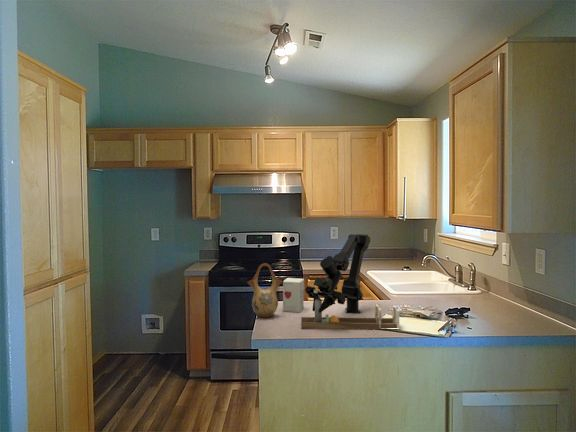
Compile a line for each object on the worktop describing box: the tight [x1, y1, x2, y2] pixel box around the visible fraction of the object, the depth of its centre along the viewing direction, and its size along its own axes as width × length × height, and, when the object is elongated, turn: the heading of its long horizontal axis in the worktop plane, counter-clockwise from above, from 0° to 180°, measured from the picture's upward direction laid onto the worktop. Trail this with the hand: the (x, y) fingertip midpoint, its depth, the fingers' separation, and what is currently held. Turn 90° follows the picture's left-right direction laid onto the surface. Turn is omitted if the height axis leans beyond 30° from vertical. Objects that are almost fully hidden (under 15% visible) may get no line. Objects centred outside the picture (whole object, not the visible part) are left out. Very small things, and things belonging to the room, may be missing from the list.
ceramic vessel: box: [246, 262, 283, 318], centre depth 180 cm, size 16×9×25 cm, turn 95°
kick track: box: [300, 303, 401, 331], centre depth 166 cm, size 8×41×8 cm, turn 88°
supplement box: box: [282, 277, 305, 313], centre depth 191 cm, size 9×9×15 cm
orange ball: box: [329, 315, 339, 323], centre depth 166 cm, size 4×4×4 cm
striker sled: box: [314, 299, 330, 323], centre depth 166 cm, size 6×6×11 cm
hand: (316, 311), depth 164 cm, fingers closed on striker sled, 3 cm apart
